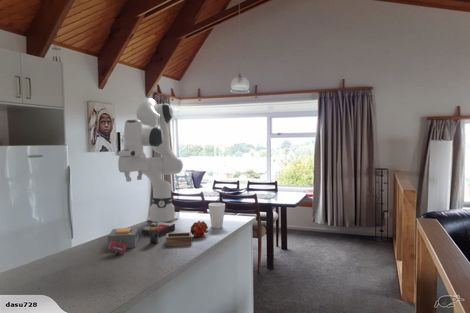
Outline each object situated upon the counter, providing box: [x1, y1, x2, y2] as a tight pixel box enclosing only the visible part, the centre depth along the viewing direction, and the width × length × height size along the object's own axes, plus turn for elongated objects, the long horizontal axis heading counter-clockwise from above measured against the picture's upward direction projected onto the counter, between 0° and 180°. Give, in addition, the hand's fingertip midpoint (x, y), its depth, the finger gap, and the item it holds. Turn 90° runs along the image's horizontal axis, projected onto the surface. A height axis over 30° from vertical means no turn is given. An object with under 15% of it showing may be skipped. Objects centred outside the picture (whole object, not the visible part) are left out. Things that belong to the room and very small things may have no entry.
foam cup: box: [208, 202, 226, 229], centre depth 196 cm, size 10×9×13 cm
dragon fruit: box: [190, 220, 209, 238], centre depth 177 cm, size 8×8×12 cm
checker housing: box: [107, 227, 139, 250], centre depth 164 cm, size 12×12×6 cm
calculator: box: [141, 222, 176, 238], centre depth 185 cm, size 11×4×15 cm
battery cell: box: [148, 222, 159, 245], centre depth 166 cm, size 4×4×10 cm
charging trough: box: [165, 232, 193, 247], centre depth 166 cm, size 8×12×4 cm, turn 98°
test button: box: [116, 227, 131, 234], centre depth 164 cm, size 6×6×3 cm
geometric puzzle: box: [108, 239, 128, 257], centre depth 150 cm, size 7×7×8 cm
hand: (134, 180), depth 169 cm, fingers open, 8 cm apart
